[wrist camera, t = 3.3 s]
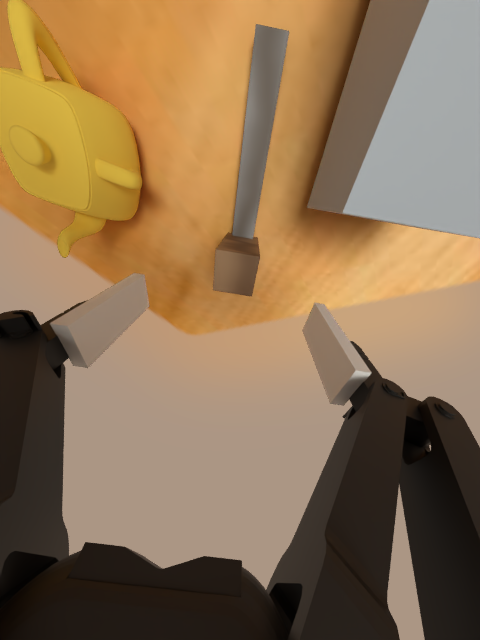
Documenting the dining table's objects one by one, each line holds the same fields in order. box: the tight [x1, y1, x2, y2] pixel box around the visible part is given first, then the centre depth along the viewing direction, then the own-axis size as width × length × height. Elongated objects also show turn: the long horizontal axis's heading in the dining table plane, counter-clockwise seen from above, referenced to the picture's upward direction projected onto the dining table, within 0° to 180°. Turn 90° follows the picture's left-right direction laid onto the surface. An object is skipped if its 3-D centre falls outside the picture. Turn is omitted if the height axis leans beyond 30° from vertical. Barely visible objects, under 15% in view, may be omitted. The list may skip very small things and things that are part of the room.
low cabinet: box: [307, 0, 480, 238], centre depth 14 cm, size 13×18×14 cm
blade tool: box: [213, 24, 289, 296], centre depth 19 cm, size 4×22×11 cm, turn 171°
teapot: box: [0, 0, 142, 258], centre depth 19 cm, size 14×13×10 cm
